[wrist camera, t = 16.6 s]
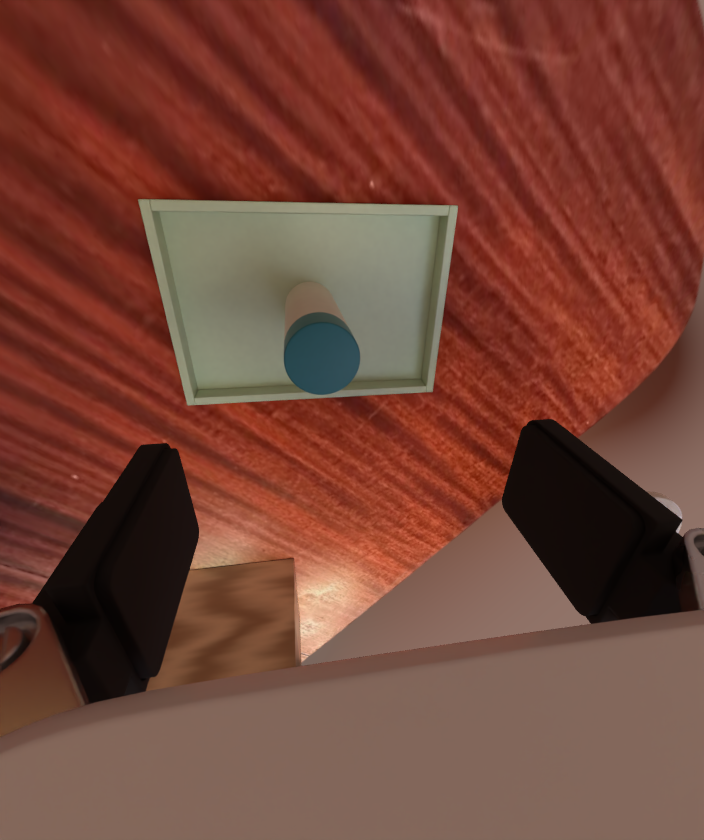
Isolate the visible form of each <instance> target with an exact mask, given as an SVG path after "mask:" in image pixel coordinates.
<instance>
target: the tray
mask: <svg viewBox="0 0 704 840" xmlns="http://www.w3.org/2000/svg"><path fill="white" fill-rule="evenodd" d="M138 202H139V206H140V210H141V214H142V218H143V222H144V227H145V231H146V235H147V239H148V243H149V247H150V252H151V256H152V260H153V264H154V268H155V272H156V277H157V281H158V285H159V289H160V293H161V297H162V302H163V306H164V310H165V314H166V318H167V322H168V327H169V331H170V335H171V339H172V343H173V347H174V352H175V356H176V360H177V364H178V368H179V372H180V377H181V381H182V385H183V389H184V393H185V397H186V402H187V405H195V404H196V405H203V404H221V403H239V402H257V401H275V400H294V399H312V398H330V397H348V396H366V395H385V394H403V393H421V392H432V391H433V384H434V377H435V370H436V362H437V355H438V348H439V341H440V333H441V326H442V319H443V312H444V305H445V297H446V290H447V283H448V276H449V268H450V261H451V254H452V247H453V239H454V232H455V225H456V218H457V211H458V206H457V205H411V204H362V203H312V202H263V201H214V200H164V199H138ZM303 282H316V283H319V284H321V285H323V286H324V287H326V288H327V289H328V290H329V292H330V293H331V295H332V296H333V298H334V300H335V302H336V304H337V306H338V308H339V310H340V312H341V313H342V315H343V317H344V319H345V321H346V323H347V325H348V327H349V329H350V331H351V332H352V334H353V336H354V338H355V340H356V342H357V344H358V347H359V350H360V365H359V369H358V371H357V374H356V375H355V377H354V378H353V380H352V381H351V382H350V383H349V384H348V385H347V386H346V387H345V388H343V389H341V390H340V391H338V392H335V393H332V394H326V395H317V394H311V393H308V392H306V391H304V390H302V389H300V388H299V387H297V386H296V385H295V384H294V383H293V382H292V381H291V380H290V378H289V377H288V375H287V373H286V370H285V367H284V327H285V302H286V298H287V296H288V294H289V292H290V291H291V290H292V289H293V288H294V287H295V286H296V285H298V284H300V283H303Z"/></svg>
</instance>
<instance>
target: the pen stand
mask: <svg viewBox="0 0 704 840" xmlns="http://www.w3.org/2000/svg"><path fill="white" fill-rule="evenodd" d="M298 666H301V636H300V616H299V606H298V596H297V585H296V575H295V565H294V559H284V560H275V561H267V562H258V563H249V564H241V565H232V566H223V567H215V568H206V569H197V570H189V573H188V576H187V580H186V583H185V587H184V590H183V593H182V597H181V600H180V604H179V607H178V610H177V614H176V617H175V621H174V624H173V627H172V631H171V634H170V638H169V641H168V645H167V648H166V651H165V655H164V658H163V662H162V665H161V668H160V671H159V673H158V675H157V676H156V677H151V678H150V679H149V682H148V685H147V689H146V691H150V690H156V689H162V688H168V687H174V686H180V685H186V684H192V683H198V682H204V681H209V680H215V679H221V678H227V677H233V676H239V675H245V674H252V673H259V672H265V671H272V670H278V669H285V668H292V667H298Z"/></svg>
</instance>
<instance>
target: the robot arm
mask: <svg viewBox="0 0 704 840" xmlns="http://www.w3.org/2000/svg"><path fill="white" fill-rule="evenodd" d="M502 505H503V508H504V510H505V512H506V513H507V514H508V516H509V517H510V519H511V520H512V521H513V523H514V524H515V525H516V527H517V528H518V530H519V531H520V532H521V534H522V535H523V536H524V538H525V539H526V541H527V542H528V544H529V545H530V546H531V548H532V549H533V550H534V552H535V553H536V555H537V556H538V557H539V559H540V560H541V562H542V563H543V564H544V566H545V567H546V569H547V570H548V571H549V573H550V574H551V576H552V577H553V578H554V580H555V581H556V582H557V584H558V585H559V587H560V588H561V589H562V591H563V592H564V594H565V595H566V596H567V598H568V599H569V601H570V602H571V603H572V605H573V606H574V607H575V609H576V610H577V611H578V612H579V613H580V614H581V615H583V616H586V618H587V619H588V620H589V622H590V623H591V624H587V625H580V626H573V627H567V628H559V629H551V630H544V631H537V632H530V633H523V634H516V635H509V636H503V637H495V638H488V639H481V640H474V641H467V642H460V643H453V644H447V645H440V646H434V647H426V648H419V649H413V650H405V651H399V652H392V653H385V654H378V655H371V656H365V657H359V658H351V659H345V660H339V661H332V662H325V663H318V664H312V665H305V666H298V667H292V668H285V669H278V670H272V671H265V672H259V673H252V674H245V675H239V676H233V677H227V678H221V679H215V680H209V681H204V682H198V683H192V684H186V685H180V686H174V687H168V688H162V689H156V690H150V691H146V689H147V685H148V682H149V679H150V678H151V677H156V676H157V675H158V673H159V671H160V668H161V665H162V662H163V658H164V655H165V651H166V648H167V645H168V641H169V638H170V634H171V631H172V627H173V624H174V621H175V617H176V614H177V610H178V607H179V604H180V600H181V597H182V593H183V590H184V587H185V583H186V580H187V576H188V573H189V570H190V566H191V563H192V559H193V556H194V552H195V549H196V546H197V542H198V538H199V527H198V522H197V519H196V515H195V511H194V508H193V504H192V500H191V496H190V493H189V489H188V485H187V482H186V478H185V474H184V470H183V467H182V463H181V459H180V456H179V452H178V450H177V449H175V448H174V449H171V448H170V446H169V445H168V444H167V443H163V444H147V445H141V446H140V447H139V448H138V450H137V451H136V453H135V454H134V456H133V457H132V459H131V460H130V462H129V463H128V465H127V466H126V468H125V469H124V471H123V472H122V474H121V475H120V477H119V478H118V480H117V481H116V483H115V484H114V486H113V488H112V489H111V491H110V492H109V494H108V495H107V497H106V498H105V500H104V501H103V502H102V503H100V505H99V506H98V507H97V508H96V510H95V511H94V512H93V514H92V515H91V517H90V518H89V520H88V521H87V523H86V524H85V526H84V527H83V529H82V530H81V532H80V533H79V535H78V536H77V538H76V539H75V541H74V542H73V544H72V545H71V547H70V548H69V550H68V551H67V553H66V554H65V556H64V557H63V558H62V560H61V561H60V563H59V564H58V566H57V567H56V569H55V570H54V572H53V573H52V575H51V576H50V578H49V579H48V581H47V582H46V584H45V585H44V587H43V588H42V590H41V591H40V593H39V594H38V596H37V597H36V599H35V600H34V601H33V603H31V604H16V605H12V606H9V607H5V608H1V609H0V840H704V528H696V529H691V530H689V531H688V532H686V533H685V535H684V536H683V537H682V536H680V535H679V534H678V533H677V532H676V530H677V528H678V527H679V525H680V524H681V522H682V519H680V518H679V517H678V516H677V515H675V514H674V513H673V512H672V511H670V510H669V509H668V508H666V507H665V506H664V505H663V504H661V503H660V502H659V501H657V500H656V499H655V498H654V497H652V496H651V495H650V494H648V493H647V492H646V491H645V490H643V489H642V488H641V487H639V486H638V485H637V484H636V483H634V482H633V481H632V480H630V479H629V478H628V477H627V476H625V475H624V474H623V473H621V472H620V471H619V470H618V469H616V468H615V467H614V466H612V465H611V464H610V463H609V462H607V461H606V460H605V459H603V458H602V457H601V456H600V455H598V454H597V453H596V452H594V451H593V450H592V449H591V448H589V447H588V446H587V445H585V444H584V443H583V442H582V441H580V440H579V439H578V438H577V437H575V436H574V435H573V434H571V433H570V432H569V431H568V430H566V429H565V428H564V427H562V426H561V425H560V424H559V423H557V422H556V421H554V420H552V419H545V420H532V421H529V422H528V424H527V425H526V426H524V427H523V428H522V430H521V433H520V437H519V440H518V444H517V447H516V451H515V455H514V458H513V462H512V465H511V469H510V472H509V476H508V479H507V483H506V486H505V490H504V493H503V497H502Z"/></svg>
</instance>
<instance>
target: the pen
mask: <svg viewBox="0 0 704 840" xmlns="http://www.w3.org/2000/svg"><path fill="white" fill-rule="evenodd" d="M359 365H360V350H359V347H358V344H357V342H356V340H355V338H354V336H353V334H352V332H351V331H350V329H349V327H348V325H347V323H346V321H345V319H344V317H343V315H342V313H341V312H340V310H339V308H338V306H337V304H336V302H335V300H334V298H333V296H332V295H331V293H330V292H329V290H328V289H327V288H326V287H324V286H323V285H321V284H319V283H316V282H303V283H300V284H298V285H296V286H295V287H294V288H293V289H292V290H291V291H290V292H289V294H288V296H287V298H286V302H285V327H284V367H285V370H286V373H287V375H288V377H289V378H290V380H291V381H292V382H293V383H294V384H295V385H296V386H297V387H299V388H300V389H302V390H304V391H306V392H308V393H311V394H317V395H326V394H332V393H335V392H338V391H340V390H341V389H343V388H345V387H346V386H347V385H348V384H349V383H350V382H351V381H352V380H353V378H354V377H355V375H356V374H357V371H358V369H359Z"/></svg>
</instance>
